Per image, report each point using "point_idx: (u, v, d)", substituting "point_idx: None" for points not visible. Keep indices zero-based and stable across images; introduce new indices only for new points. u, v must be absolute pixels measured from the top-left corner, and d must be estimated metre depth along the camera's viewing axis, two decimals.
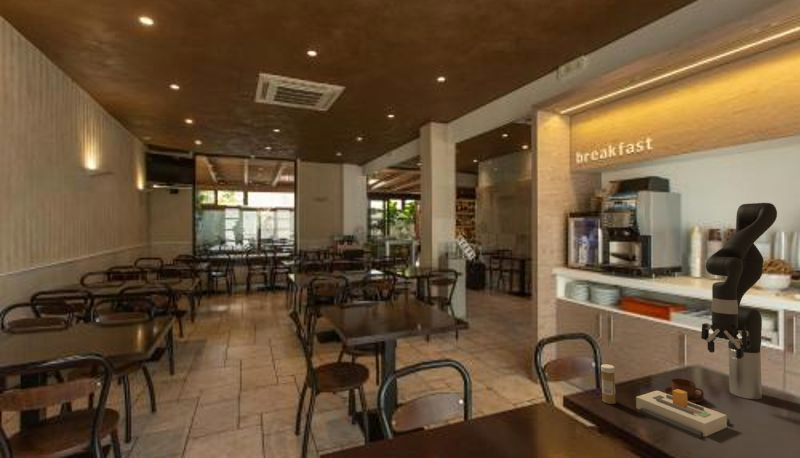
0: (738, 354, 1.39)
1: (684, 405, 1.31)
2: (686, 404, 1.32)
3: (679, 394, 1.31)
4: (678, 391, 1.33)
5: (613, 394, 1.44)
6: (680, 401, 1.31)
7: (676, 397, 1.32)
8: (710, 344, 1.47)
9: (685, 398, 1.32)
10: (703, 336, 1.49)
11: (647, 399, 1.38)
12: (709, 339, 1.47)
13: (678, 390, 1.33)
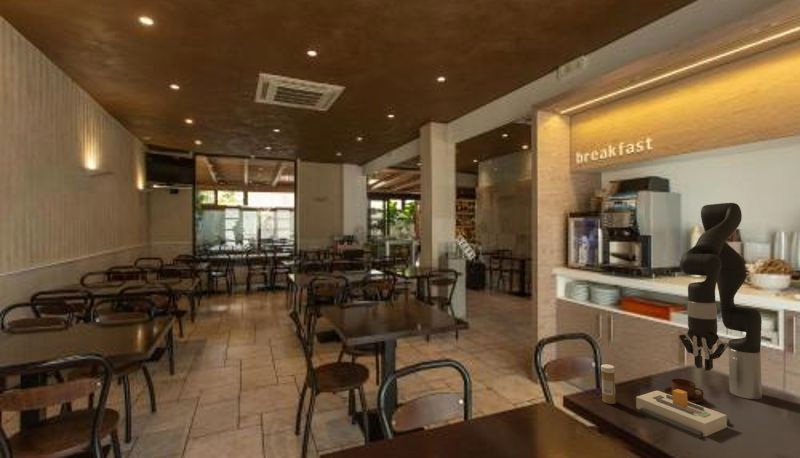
0: (707, 365, 1.24)
1: (684, 405, 1.31)
2: (686, 404, 1.32)
3: (679, 394, 1.31)
4: (678, 391, 1.33)
5: (613, 394, 1.44)
6: (680, 401, 1.31)
7: (676, 397, 1.32)
8: (697, 359, 1.26)
9: (685, 398, 1.32)
10: (689, 349, 1.28)
11: (647, 399, 1.38)
12: (695, 352, 1.27)
13: (678, 390, 1.33)
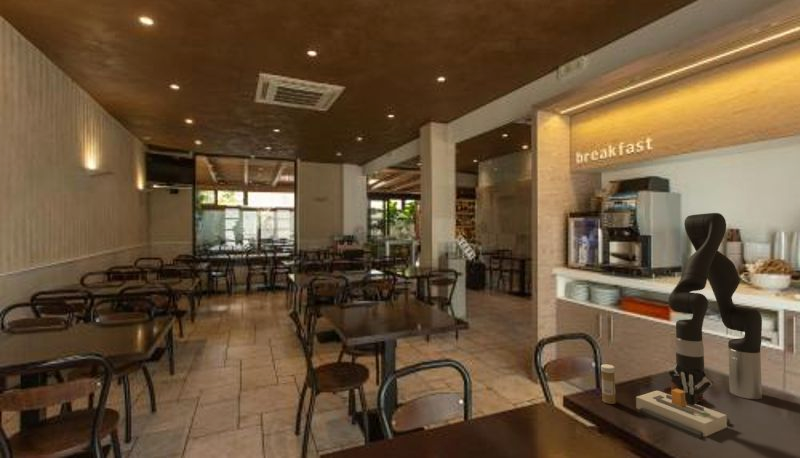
0: (691, 400, 1.29)
1: (683, 405, 1.32)
2: (685, 404, 1.32)
3: (678, 393, 1.32)
4: (677, 391, 1.33)
5: (613, 394, 1.44)
6: (679, 401, 1.31)
7: (675, 397, 1.33)
8: (688, 395, 1.29)
9: (684, 398, 1.32)
10: (680, 385, 1.31)
11: (647, 399, 1.38)
12: (685, 389, 1.30)
13: (677, 390, 1.34)
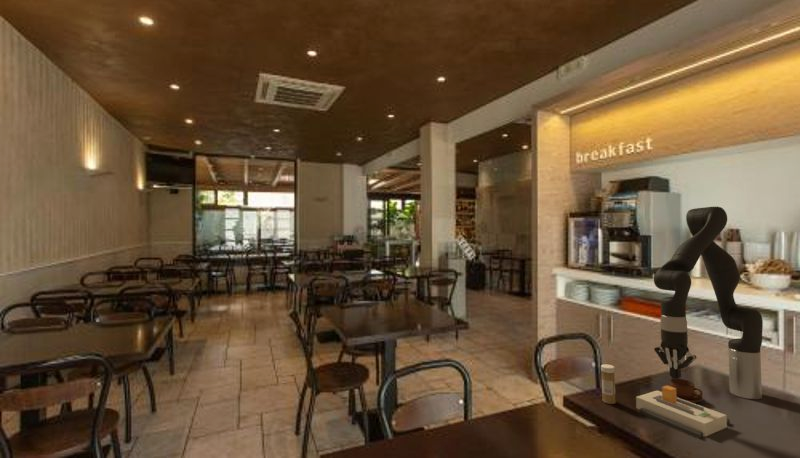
0: (675, 375, 1.33)
1: (673, 401, 1.34)
2: (675, 400, 1.35)
3: (668, 390, 1.34)
4: (667, 387, 1.36)
5: (613, 394, 1.44)
6: (669, 397, 1.34)
7: (665, 393, 1.35)
8: (672, 370, 1.34)
9: (674, 394, 1.35)
10: (665, 361, 1.36)
11: (647, 399, 1.38)
12: (670, 364, 1.34)
13: (667, 386, 1.37)
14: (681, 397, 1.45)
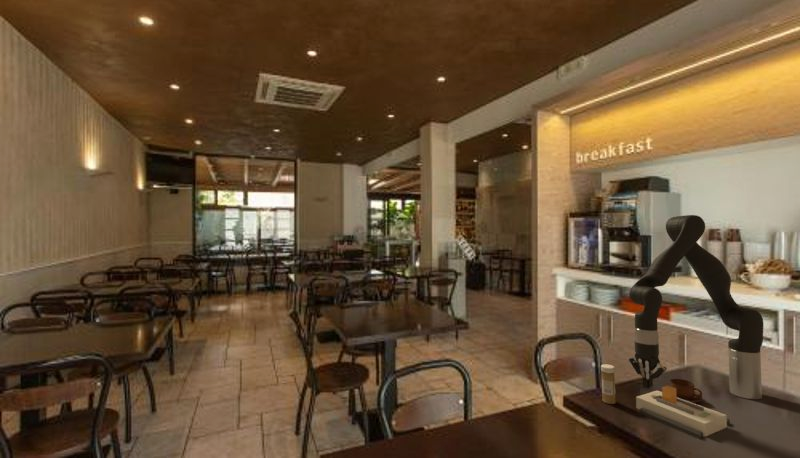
0: (647, 384, 1.42)
1: (673, 401, 1.34)
2: (675, 400, 1.35)
3: (668, 390, 1.34)
4: (667, 387, 1.36)
5: (613, 394, 1.44)
6: (669, 397, 1.34)
7: (665, 393, 1.35)
8: (644, 380, 1.43)
9: (674, 394, 1.35)
10: (638, 371, 1.44)
11: (647, 399, 1.38)
12: (642, 374, 1.43)
13: (667, 386, 1.37)
14: (681, 397, 1.45)
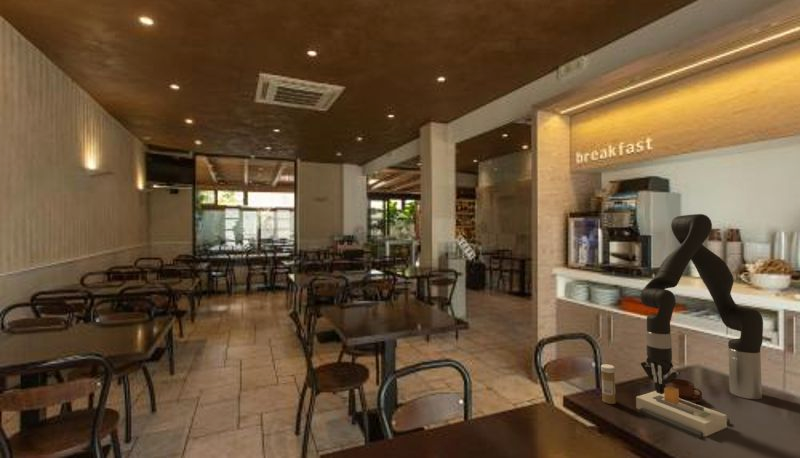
0: (660, 389, 1.38)
1: (675, 402, 1.34)
2: (677, 401, 1.34)
3: (671, 391, 1.34)
4: (670, 388, 1.35)
5: (613, 394, 1.44)
6: (672, 398, 1.34)
7: (668, 394, 1.35)
8: (657, 384, 1.39)
9: (676, 395, 1.34)
10: (650, 375, 1.41)
11: (647, 399, 1.38)
12: (655, 378, 1.39)
13: (670, 387, 1.36)
14: (680, 397, 1.45)
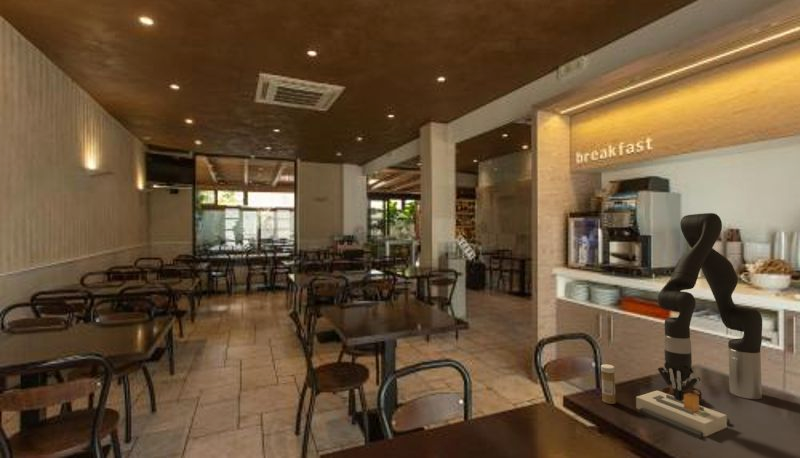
0: (679, 396, 1.32)
1: (696, 409, 1.28)
2: (698, 408, 1.28)
3: (691, 398, 1.28)
4: (689, 395, 1.29)
5: (613, 394, 1.44)
6: (692, 406, 1.28)
7: (687, 401, 1.29)
8: (676, 391, 1.33)
9: (697, 402, 1.28)
10: (668, 381, 1.35)
11: (647, 399, 1.38)
12: (673, 385, 1.33)
13: (689, 394, 1.30)
14: None
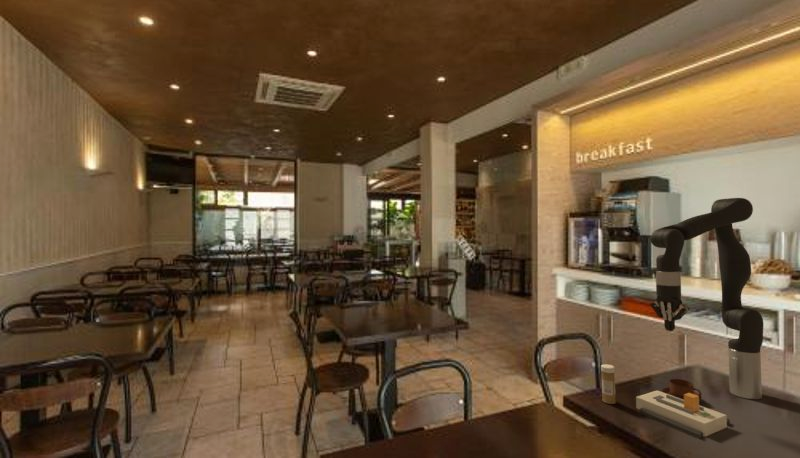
0: (669, 326, 1.42)
1: (696, 409, 1.28)
2: (698, 408, 1.28)
3: (691, 398, 1.28)
4: (689, 395, 1.29)
5: (613, 394, 1.44)
6: (692, 406, 1.28)
7: (687, 401, 1.29)
8: (667, 322, 1.43)
9: (697, 402, 1.28)
10: (660, 314, 1.45)
11: (647, 399, 1.38)
12: (664, 316, 1.43)
13: (689, 394, 1.30)
14: (680, 397, 1.45)
